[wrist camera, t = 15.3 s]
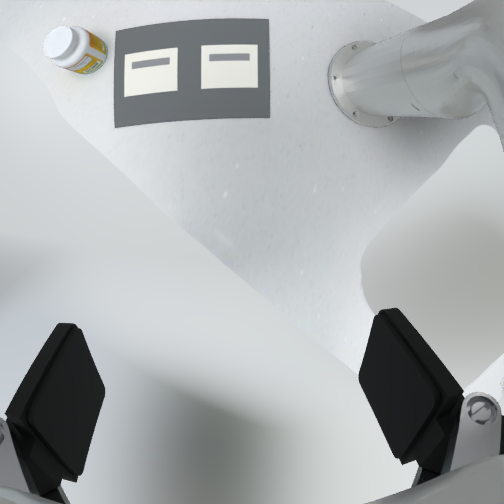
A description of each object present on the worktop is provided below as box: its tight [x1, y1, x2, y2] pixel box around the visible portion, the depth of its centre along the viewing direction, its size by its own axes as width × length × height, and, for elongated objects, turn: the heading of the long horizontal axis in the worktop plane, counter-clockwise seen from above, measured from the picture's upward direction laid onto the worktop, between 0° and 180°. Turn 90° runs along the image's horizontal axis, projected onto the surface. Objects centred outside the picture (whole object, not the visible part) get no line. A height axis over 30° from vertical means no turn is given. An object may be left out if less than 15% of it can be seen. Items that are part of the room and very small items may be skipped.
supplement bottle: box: [43, 26, 107, 74], centre depth 25 cm, size 5×5×10 cm
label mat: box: [114, 19, 270, 128], centre depth 32 cm, size 20×14×1 cm
